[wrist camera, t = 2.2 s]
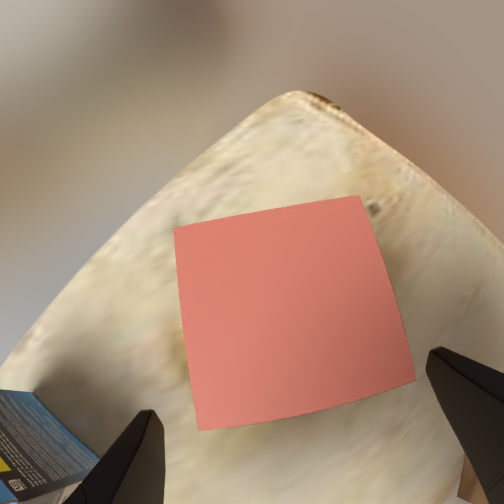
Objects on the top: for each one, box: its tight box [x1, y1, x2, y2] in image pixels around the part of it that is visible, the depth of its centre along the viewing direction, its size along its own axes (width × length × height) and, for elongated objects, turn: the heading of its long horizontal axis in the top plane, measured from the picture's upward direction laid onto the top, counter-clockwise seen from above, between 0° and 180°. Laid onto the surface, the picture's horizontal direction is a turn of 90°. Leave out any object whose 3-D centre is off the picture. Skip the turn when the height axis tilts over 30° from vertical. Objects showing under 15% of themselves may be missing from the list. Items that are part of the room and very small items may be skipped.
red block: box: [174, 195, 416, 431], centre depth 13 cm, size 5×5×12 cm
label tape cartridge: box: [0, 389, 100, 504], centre depth 10 cm, size 9×4×12 cm, turn 62°
